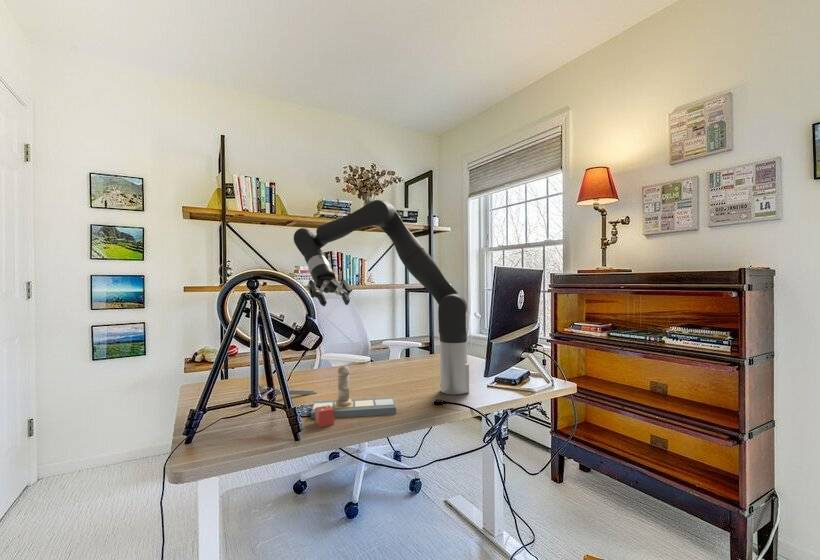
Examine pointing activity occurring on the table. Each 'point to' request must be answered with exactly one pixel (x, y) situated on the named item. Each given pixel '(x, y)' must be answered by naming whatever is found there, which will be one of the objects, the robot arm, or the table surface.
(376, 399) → the board
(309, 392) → the caliper
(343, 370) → the pawn
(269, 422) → the table surface
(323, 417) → the die
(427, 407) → the table surface
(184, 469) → the table surface
